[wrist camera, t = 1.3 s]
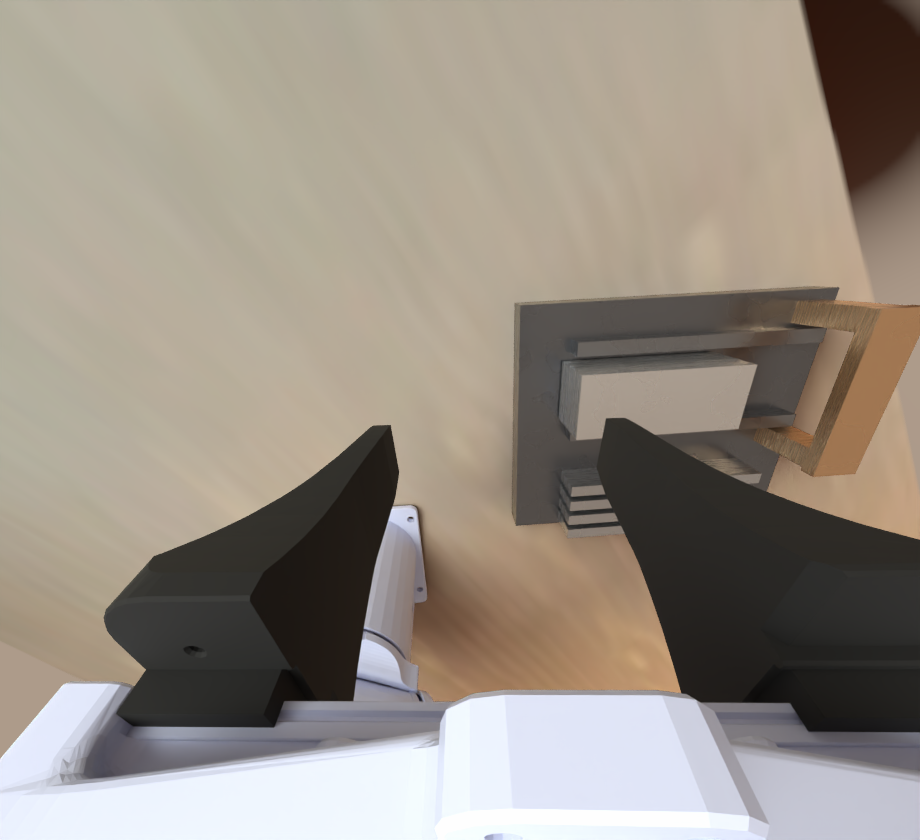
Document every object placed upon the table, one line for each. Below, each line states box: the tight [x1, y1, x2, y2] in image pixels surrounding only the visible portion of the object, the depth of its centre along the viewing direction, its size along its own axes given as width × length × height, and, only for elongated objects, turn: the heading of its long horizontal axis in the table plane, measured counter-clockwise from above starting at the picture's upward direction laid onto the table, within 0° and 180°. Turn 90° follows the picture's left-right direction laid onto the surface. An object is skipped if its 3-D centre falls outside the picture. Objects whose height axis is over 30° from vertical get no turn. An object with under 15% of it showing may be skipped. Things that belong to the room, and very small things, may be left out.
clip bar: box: [559, 352, 757, 440], centre depth 20 cm, size 4×9×3 cm, turn 93°
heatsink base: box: [512, 287, 920, 538], centre depth 21 cm, size 15×18×6 cm
